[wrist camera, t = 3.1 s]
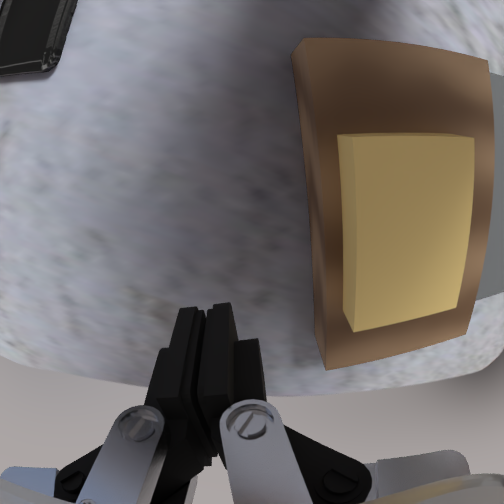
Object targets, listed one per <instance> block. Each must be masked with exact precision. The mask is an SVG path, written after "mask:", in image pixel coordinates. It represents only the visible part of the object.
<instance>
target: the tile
mask: <svg viewBox="0 0 504 504" xmlns="http://www.w3.org/2000/svg"><path fill="white" fill-rule="evenodd" d="M337 141H338V153H339V166H340V181H341V199H342V224H343V312H344V314H345V316H346V318H347V320H348V322H349V324H350V326H351V328H352V330H353V332H358V331H363V330H368V329H373V328H377V327H382V326H386V325H391V324H395V323H399V322H404V321H408V320H412V319H416V318H420V317H424V316H428V315H431V314H435V313H439V312H443V311H446V310H450V309H453V308H456V306H457V302H458V297H459V293H460V288H461V283H462V278H463V273H464V267H465V261H466V255H467V249H468V242H469V234H470V225H471V216H472V204H473V190H474V156H475V152H474V138H472V137H466V136H461V135H455V134H444V133H362V134H341V135H337Z"/></svg>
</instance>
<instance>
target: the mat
mask: <svg viewBox="0 0 504 504" xmlns="http://www.w3.org/2000/svg"><path fill="white" fill-rule="evenodd" d="M489 73H490V72H489ZM490 81H491V89H492V99H493V113H494V135H495V164H494V187H493V200H492V211H491V220H490V228H489V235H488V242H487V248H486V254H485V259H484V264H483V270H482V274H481V279H480V284H479V288H478V292H477V296H476V300H479V299H482V298H486V297H489V296H492V295H495V294H498V293H501V292H504V76H500V75H497V74H493V73H490ZM476 300H475V301H476Z"/></svg>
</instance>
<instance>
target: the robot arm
mask: <svg viewBox="0 0 504 504" xmlns="http://www.w3.org/2000/svg"><path fill="white" fill-rule="evenodd" d="M218 454H219V456H220V458H221V460H222V462H223V464H224V467H225V469H226V470H227V471H228V476H229V481H230V486H231V491H232V496H233V501H234V504H504V475H501V474H472V475H470V470H469V465H468V463H467V461H466V458H465V457H464V456H463V455H462V454H461V453H459V452H457V451H454V450H443V451H437V452H432V453H426V454H421V455H414V456H407V457H399V458H391V459H383V460H377V462H376V463H370V464H362V463H360V462H359V461H357V460H355V459H353V458H350V457H348V456H346V455H344V454H342V453H339V452H337V451H335V450H333V449H331V448H329V447H326V446H324V445H322V444H320V443H318V442H316V441H314V440H312V439H310V438H308V437H306V436H304V435H302V434H300V433H298V432H296V431H295V430H292V429H291V428H289V427H287V426H285V425H283V423H282V420H281V417H280V415H279V413H278V411H277V410H276V408H275V407H274V406H272V405H271V404H270V403H268V402H267V399H266V390H265V381H264V373H263V365H262V358H261V352H260V346H259V340H258V338H256V339H248V340H240V341H238V336H237V331H236V326H235V321H234V316H233V311H232V306H231V303H230V302H228V303H220V304H214V305H213V309H208V310H207V317H206V316H205V313H204V310H198V308H197V307H187V308H180V309H179V313H178V316H177V320H176V323H175V327H174V330H173V334H172V338H171V341H170V345H169V348H162V349H160V351H159V354H158V357H157V360H156V364H155V367H154V371H153V374H152V378H151V381H150V385H149V388H148V392H147V395H146V400H145V403H144V405H140V406H135V407H131V408H129V409H127V410H125V411H124V412H122V413H121V414H120V415H119V416H118V418H117V419H116V420H115V422H114V424H113V426H112V428H111V430H110V432H109V434H108V436H107V438H106V440H105V442H104V444H103V445H101V446H99V447H98V448H96V449H95V450H93V451H91V452H89V453H88V454H86V455H85V456H83V457H81V458H79V459H78V460H76V461H74V462H72V463H71V464H69V465H67V466H66V467H64V468H63V469H62V470H60V471H59V470H57V468H32V467H15V466H14V467H9V468H7V469H6V470H5V471H4V472H3V473H2V474H1V476H0V504H192V501H193V497H194V493H195V489H196V485H197V474H199V473H200V472H201V471H202V470H203V469H204V466H211V465H212V457H217V455H218Z"/></svg>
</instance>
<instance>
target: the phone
mask: <svg viewBox="0 0 504 504" xmlns="http://www.w3.org/2000/svg"><path fill="white" fill-rule="evenodd" d="M77 1H78V0H3V3H2V6H1V8H0V76H8V75H17V74H26V73H38V72H47V71H50V70H51V69H53V68H54V67H55V66H56V65H57V63H58V62H59V60H60V57H61V54H62V50H63V47H64V43H65V39H66V36H67V32H68V29H69V25H70V22H71V19H72V16H73V13H74V10H75V7H76V4H77Z"/></svg>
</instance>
